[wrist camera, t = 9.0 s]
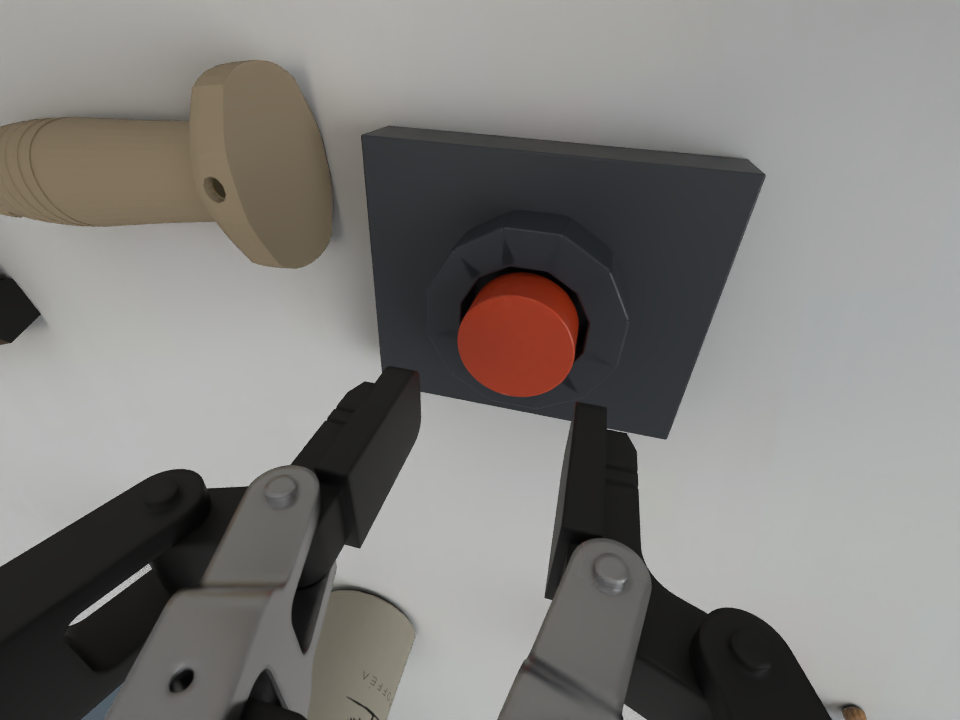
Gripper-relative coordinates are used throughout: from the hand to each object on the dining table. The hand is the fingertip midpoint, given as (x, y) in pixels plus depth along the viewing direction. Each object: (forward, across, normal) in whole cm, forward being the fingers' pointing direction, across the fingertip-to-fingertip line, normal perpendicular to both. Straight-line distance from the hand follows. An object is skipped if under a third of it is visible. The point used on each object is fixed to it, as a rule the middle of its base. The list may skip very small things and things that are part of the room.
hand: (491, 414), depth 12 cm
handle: (+7, +24, -2) cm, 25 cm away
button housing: (+8, 0, 0) cm, 8 cm away
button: (+5, 0, 0) cm, 5 cm away
